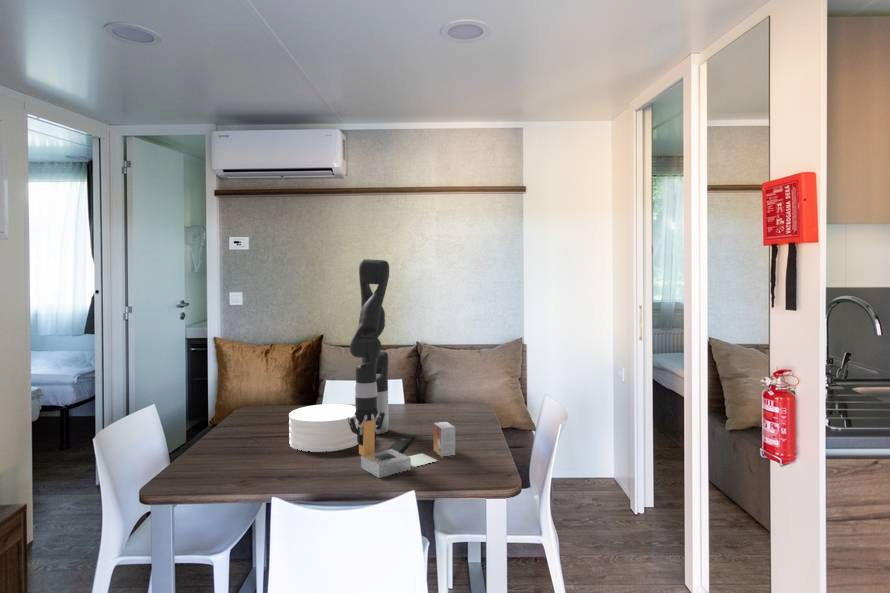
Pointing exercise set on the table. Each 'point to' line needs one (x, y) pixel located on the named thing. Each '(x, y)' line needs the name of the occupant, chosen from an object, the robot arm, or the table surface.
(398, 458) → the socket block
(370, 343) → the robot arm
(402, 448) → the remote control
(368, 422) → the key peg
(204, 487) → the table surface
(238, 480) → the table surface
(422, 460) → the mat
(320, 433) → the plate stack
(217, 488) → the table surface
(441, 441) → the small box
